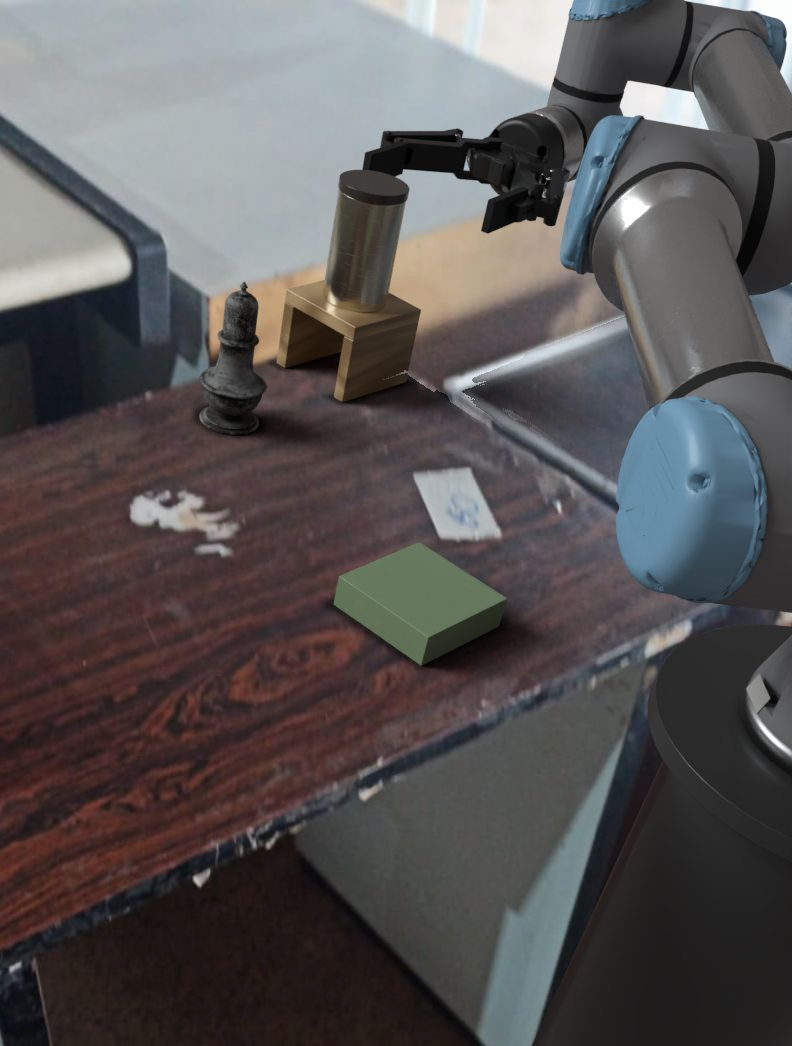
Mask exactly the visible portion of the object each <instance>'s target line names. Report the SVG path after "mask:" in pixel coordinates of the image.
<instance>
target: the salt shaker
mask: <svg viewBox="0 0 792 1046" xmlns="http://www.w3.org/2000/svg"><path fill="white" fill-rule="evenodd" d="M239 288H240V289H239V290H236V291H234V292H231V293H230V294H229V295H228V296H227V297H226V299H225V303H224V310H223V311H224V312H223V320H222V329H221V330H219V331H218V332H217V335H216V336H217V339H218V341H219V350H218V351H219V352H218V359H217V361H216V362H217V363H216V364H215V366H211V367H209V368H206V369H204V370H203V371H202V372H201V373H200V375H199V382H200V384H201V385H202V386H201V387H202V393H203V397H204V400H205V401H206V403H207V404H208V405H209V406H207V407H204V408H203V409H202V410H201V411H200V413H199V421H200V422H201V424H202V425H203V426H205V428H207V429H209V430H212V431H213V432H216V433H219V434H222V435H223V434H224V435H230V436H243V435H247V434H251V433H253V432H255V431H256V430H257V429H259V425H260V421H259V418H258V417H257V416H256V414H255V413H253V412H252V411H254V410H255V409H256V408H258V406H259V403H260V402H261V401H262V398H263V394H264V393H266V391H267V389H268V384H267V382H266V380H265V379H264V377H263V376H261V375H260V374H259V373H257V372H256V371H255V369H254V357H255V350H256V349H255V347H257V346H258V345H259V343H260V338H259V336H258V335H257V334H256V332H257V323H258V316H259V308H260V307H259V301H258V300H257V297H255V296H254V295H253V294H252V293H250V292H249V291H247V289H249V285H247V283H246V281H243V282H242V283H241V284H240V285H239Z"/></svg>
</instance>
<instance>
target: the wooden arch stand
mask: <svg viewBox="0 0 792 1046" xmlns="http://www.w3.org/2000/svg"><path fill="white" fill-rule="evenodd" d="M324 281H325V279H324V280H319V281H315V282H310V283H306V284H302V285H298V286H293V287H290V288H286V292H285V299H284V303H283V312H282V319H281V327H280V334H279V343H278V348H277V349H278V350H277V355H276V356H277V357H276V364H277V365H279V366H280V367H283V368H284V369H286V368H291V367H293V366H297V365H301V364H304V363H307V362H311V361H315V360H318V359H321V358H325V357H328V356H331V355H336V354H338V353H340V357H339V364H338V369H337V375H336V380H335V381H336V382H335V387H334V393H333V398H335V399H336V400H337V401H339V402H341V403H344V402H347V401H351V400H354V399H357V398H360V397H364V396H366V395H370V394H373V393H377V392H378V391H383V390H386V389H389V388H392V387H394V386H398V385H401V384H405V383H406V382H407V378H408V374H409V369H410V364H411V360H412V356H413V350H414V346H415V341H416V336H417V331H418V326H419V322H420V317H421V314H422V309H420V308H419V307H417V306H415V305H413V304H411V303H409V302H407V301H405V300H404V299H402V298H401V297H399V296H396V295H395V294H393V293H392V292H391V293H390V292H389V293H388V298H387V303H386V306H385V308H384V309H382V310H380V311H377V312H369V313H363V312H354V311H349V310H345V309H342V308H339V307H337V306H334V305H332V304H331V303H329V302H328V301H327V300H326V299H325V298H324V297H323V287H324ZM404 370H406V371H408V373H405V374H401V375H398V376H395V375H396V374H399V373H401V372H404ZM392 376H395V377H392ZM388 377H389V379H386V378H388ZM390 377H392V378H390ZM383 379H385V380H383Z"/></svg>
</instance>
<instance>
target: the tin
mask: <svg viewBox="0 0 792 1046" xmlns="http://www.w3.org/2000/svg"><path fill="white" fill-rule="evenodd" d="M337 187H338V191H337V196H336V197H337V199H336V203H335V211H334V216H333V217H334V218H333V222H332V223H333V224H332V230H331V237H330V242H329V250H328V255H327V262H326V268H325V274H324V276H325V277H324V280H325V281H324V287H323V297H324V298H325V299H326V300H327V301H328V302H329V303H331V304H332V305H334V306H337V307H339V308H342V309H345V310H349V311H354V312H363V313H369V312H377V311H380V310H382V309H384V308H385V306H386V303H387V298H388V293H390V287H391V281H392V277H393V272H394V266H395V263H396V262H395V261H396V256H397V251H398V246H399V240H400V235H401V229H402V225H403V219H404V213H405V208H406V204H407V201H408V199H409V194H410V186H409V185H408V184H407V183H406V182H405V181H404V180H402V179H400V178H398V177H397V176H396V177H394V176H391V175H388V174H385V173H381V172H377V171H370V170H362V169H351V170H345V171H343V172H341V173H340V174H339V178H338V184H337Z"/></svg>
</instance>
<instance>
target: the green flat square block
mask: <svg viewBox="0 0 792 1046" xmlns="http://www.w3.org/2000/svg"><path fill="white" fill-rule="evenodd" d="M507 602H508V598H507V597H506V596H504V595H502V594H501V593H499V592H498V591H496V590H495V589H493V587H492V588H491V587H490V586H488V585H487V584H485V583H484V582H482V581H481V580H479V579H478V578H476V577H474V576H473V575H471V574H470V573H469V572H467V571H466V570H463V569H462V568H460V567H459V566H457V564H454V563H453V562H451V561H449V560H448V559H447V558H445V557H444V556H442V555H440V554H438V553H437V552H435V550H432V549H431V548H430V547H428V546H426V545H425V544H423V543H422V542H420V541H418V542H416V543H413V544H412V545H409V546H406V547H404V548H402V549H399V550H396V551H394V552H393V553H390V554H387V555H385V556H383V557H381V558H378V559H376V560H374V561H371V562H368V563H367V564H363V565H361V566H359V567H358V568H355V569H352V570H350V571H348V572H345V573H343V574H341V575H339V576H338V580H337V583H336V589H335V595H334V599H333V605H334V606H335V607H336V608H337V609H339V610H340V611H342V612H343V613H345V614H346V615H347V616H349V617H351V618H352V619H353V620H354V621H356V622H357V623H359V624H360V625H362V626H363V627H365V628H366V629H367V630H369V631H371V632H372V633H373V634H375V635H376V636H378V637H379V638H381V639H383V641H385V642H386V643H388V644H389V645H391V647H393V648H395V649H396V650H398V651H399V652H400V653H402V654H403V655H405V656H406V657H407V658H409V659H410V660H412V661H413V662H415V663H417V664H418V665H419V666H421V667H422V666H424V665H426V664H428V663H429V662H432V661H434V660H435V659H438V658H440V657H441V656H443V655H446V654H448V653H449V652H451V651H453V650H455V649H457V648H459V647H461V646H463V645H465V644H467V643H469V642H471V641H473V640H475V639H477V638H479V637H481V636H483V635H485V634H487V633H489V632H491V631H493V630H494V629H497V628H499V627H500V625H501V621H502V617H503V614H504V611H505V608H506V605H507Z"/></svg>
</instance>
